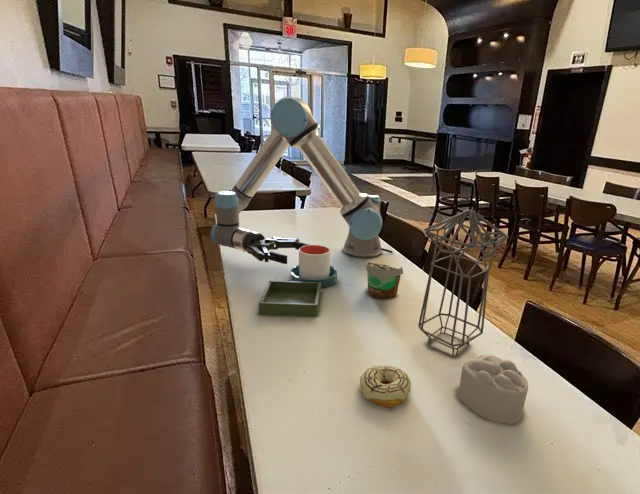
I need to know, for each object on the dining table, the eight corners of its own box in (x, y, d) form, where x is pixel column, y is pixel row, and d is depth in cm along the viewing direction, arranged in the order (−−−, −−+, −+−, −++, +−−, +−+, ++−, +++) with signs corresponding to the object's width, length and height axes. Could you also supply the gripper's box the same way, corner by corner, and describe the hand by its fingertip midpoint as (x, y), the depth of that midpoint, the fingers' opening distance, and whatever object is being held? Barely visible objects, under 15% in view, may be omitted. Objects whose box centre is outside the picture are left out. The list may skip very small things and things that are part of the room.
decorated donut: (359, 409, 80) (360, 393, 79) (359, 376, 90) (360, 361, 89) (412, 410, 81) (414, 394, 80) (406, 376, 91) (407, 362, 90)
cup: (332, 274, 142) (333, 246, 138) (325, 285, 132) (326, 256, 129) (303, 271, 142) (303, 243, 139) (295, 282, 133) (294, 252, 129)
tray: (320, 292, 128) (320, 282, 127) (317, 316, 114) (317, 305, 113) (269, 290, 127) (269, 280, 125) (259, 314, 112) (258, 303, 111)
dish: (337, 271, 145) (338, 263, 144) (336, 289, 131) (336, 281, 130) (293, 270, 144) (293, 262, 143) (287, 288, 130) (287, 279, 129)
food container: (357, 295, 129) (358, 265, 125) (365, 288, 134) (367, 259, 130) (393, 304, 125) (396, 273, 121) (400, 296, 130) (403, 267, 126)
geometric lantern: (405, 343, 104) (421, 207, 91) (440, 323, 115) (458, 199, 103) (459, 371, 95) (485, 223, 82) (491, 346, 106) (517, 213, 93)
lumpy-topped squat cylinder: (484, 378, 93) (490, 345, 90) (533, 412, 83) (543, 376, 80) (451, 393, 87) (457, 358, 84) (500, 432, 77) (509, 394, 74)
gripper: (273, 243, 157) (320, 254, 149) (223, 261, 136) (274, 276, 128) (273, 224, 154) (320, 234, 146) (221, 239, 133) (274, 253, 125)
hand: (299, 254), depth 137 cm, fingers open, 13 cm apart
